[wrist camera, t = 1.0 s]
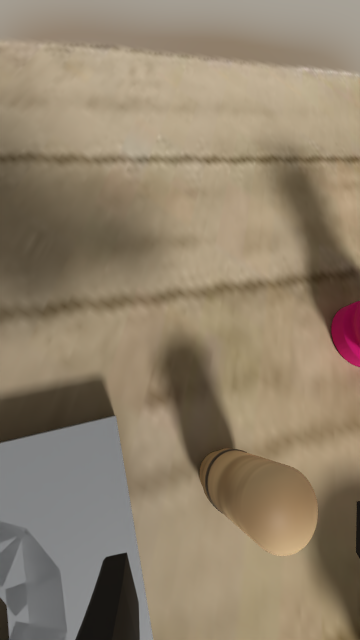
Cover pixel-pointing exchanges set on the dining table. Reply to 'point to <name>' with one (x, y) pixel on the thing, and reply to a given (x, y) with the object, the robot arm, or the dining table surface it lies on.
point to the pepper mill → (347, 332)
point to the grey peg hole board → (63, 527)
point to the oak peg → (261, 499)
